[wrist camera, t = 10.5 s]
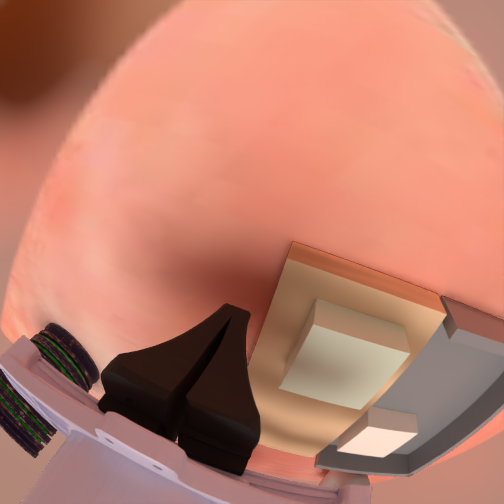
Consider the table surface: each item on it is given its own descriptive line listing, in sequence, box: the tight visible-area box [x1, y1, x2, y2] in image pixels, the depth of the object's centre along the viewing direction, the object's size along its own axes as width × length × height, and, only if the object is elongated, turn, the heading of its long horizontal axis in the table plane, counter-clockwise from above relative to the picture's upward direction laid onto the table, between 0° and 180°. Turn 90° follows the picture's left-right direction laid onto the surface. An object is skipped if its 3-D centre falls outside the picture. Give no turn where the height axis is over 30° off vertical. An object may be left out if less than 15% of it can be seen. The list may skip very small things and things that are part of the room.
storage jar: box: [0, 323, 99, 458], centre depth 22 cm, size 10×10×15 cm
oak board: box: [247, 241, 447, 458], centre depth 17 cm, size 19×9×2 cm, turn 166°
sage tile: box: [279, 298, 410, 410], centre depth 13 cm, size 5×5×2 cm
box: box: [314, 296, 504, 477], centre depth 16 cm, size 19×12×3 cm, turn 166°
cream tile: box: [337, 406, 418, 457], centre depth 18 cm, size 5×5×2 cm
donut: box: [319, 470, 370, 489], centre depth 19 cm, size 10×3×10 cm, turn 166°
